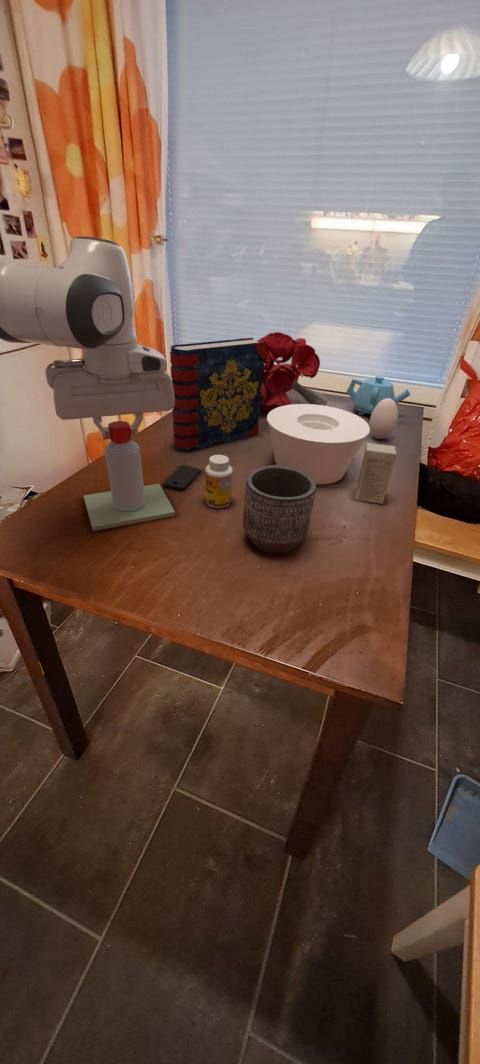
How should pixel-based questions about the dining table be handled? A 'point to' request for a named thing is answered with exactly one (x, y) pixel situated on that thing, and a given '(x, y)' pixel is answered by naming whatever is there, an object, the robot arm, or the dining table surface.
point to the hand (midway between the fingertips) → (120, 437)
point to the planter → (278, 507)
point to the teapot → (373, 393)
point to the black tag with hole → (182, 477)
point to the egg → (383, 418)
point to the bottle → (125, 475)
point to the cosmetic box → (375, 472)
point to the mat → (109, 517)
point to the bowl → (316, 439)
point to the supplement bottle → (218, 482)
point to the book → (216, 392)
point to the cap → (119, 431)
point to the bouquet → (287, 370)
